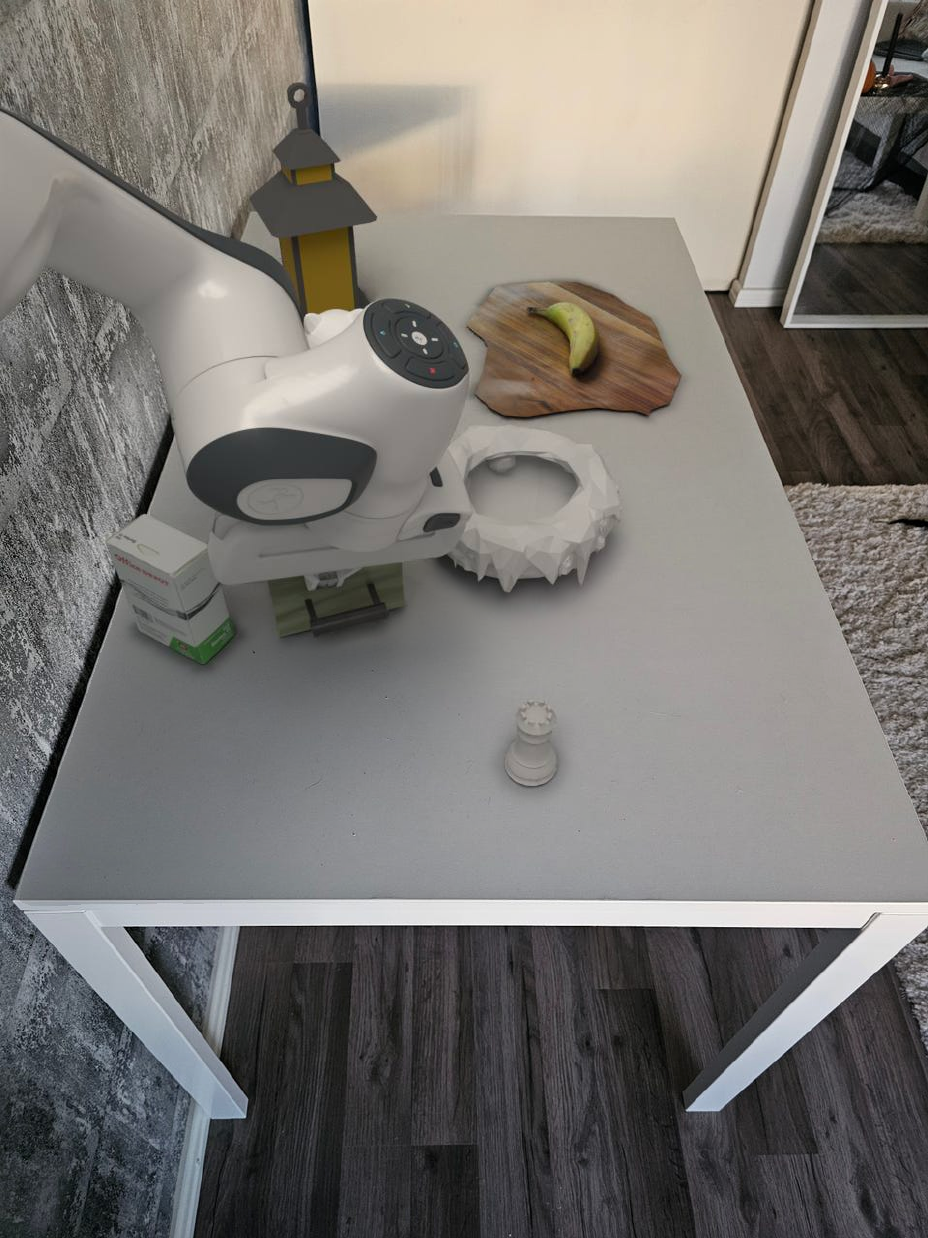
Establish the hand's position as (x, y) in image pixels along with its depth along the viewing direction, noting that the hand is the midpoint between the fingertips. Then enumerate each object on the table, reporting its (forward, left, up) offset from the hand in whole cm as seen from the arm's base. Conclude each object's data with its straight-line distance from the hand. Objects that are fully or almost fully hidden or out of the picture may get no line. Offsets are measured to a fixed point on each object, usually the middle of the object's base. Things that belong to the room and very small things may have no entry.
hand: (322, 581), depth 78 cm
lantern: (+14, +59, -10) cm, 62 cm away
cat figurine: (+11, +38, -10) cm, 40 cm away
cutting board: (+43, +43, -10) cm, 62 cm away
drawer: (+2, +8, -9) cm, 12 cm away
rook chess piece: (+13, -17, -10) cm, 24 cm away
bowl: (+22, +8, -10) cm, 26 cm away
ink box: (-13, +8, -10) cm, 18 cm away
